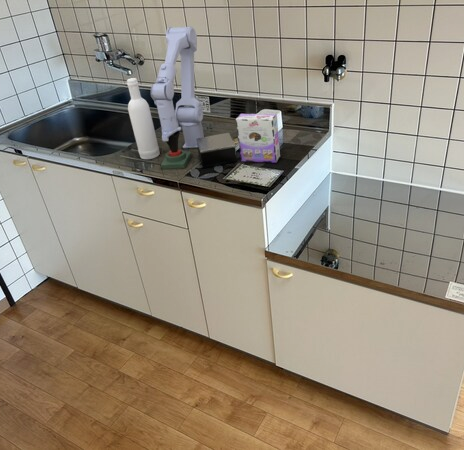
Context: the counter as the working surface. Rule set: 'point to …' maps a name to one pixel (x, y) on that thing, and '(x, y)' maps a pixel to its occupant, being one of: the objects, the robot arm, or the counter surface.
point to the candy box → (258, 137)
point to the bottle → (142, 122)
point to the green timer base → (176, 160)
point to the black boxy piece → (218, 157)
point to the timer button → (175, 153)
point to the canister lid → (215, 142)
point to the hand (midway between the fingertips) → (174, 151)
